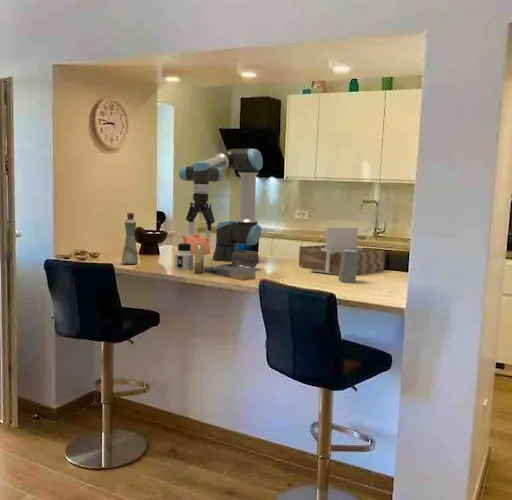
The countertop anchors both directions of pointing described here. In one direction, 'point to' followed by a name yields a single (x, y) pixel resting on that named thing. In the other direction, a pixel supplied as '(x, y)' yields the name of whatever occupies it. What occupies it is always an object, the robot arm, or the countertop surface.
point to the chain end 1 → (216, 271)
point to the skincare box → (348, 266)
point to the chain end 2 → (239, 271)
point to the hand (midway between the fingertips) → (199, 236)
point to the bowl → (245, 258)
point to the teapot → (197, 243)
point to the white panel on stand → (339, 243)
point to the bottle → (130, 241)
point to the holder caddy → (317, 260)
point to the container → (184, 257)
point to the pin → (199, 259)
